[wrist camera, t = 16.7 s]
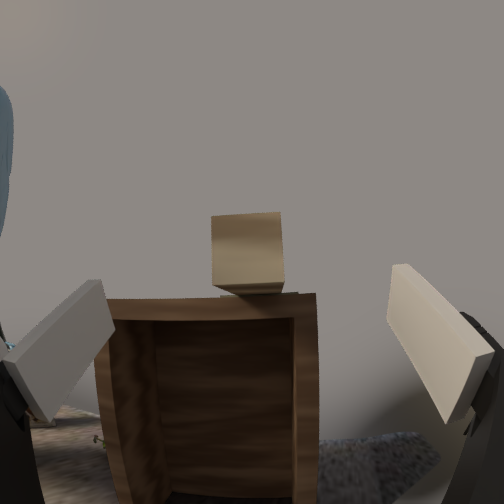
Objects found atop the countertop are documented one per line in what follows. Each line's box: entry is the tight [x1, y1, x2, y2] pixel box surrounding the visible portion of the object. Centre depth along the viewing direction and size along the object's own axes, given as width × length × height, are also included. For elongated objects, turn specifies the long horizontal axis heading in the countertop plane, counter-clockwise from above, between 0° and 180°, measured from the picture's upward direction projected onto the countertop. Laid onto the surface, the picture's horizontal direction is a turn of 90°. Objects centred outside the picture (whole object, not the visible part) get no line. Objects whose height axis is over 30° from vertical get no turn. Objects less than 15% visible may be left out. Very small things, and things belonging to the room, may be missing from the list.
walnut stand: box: [94, 292, 319, 504], centre depth 31 cm, size 14×22×30 cm, turn 86°
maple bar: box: [211, 212, 285, 295], centre depth 29 cm, size 24×4×4 cm, turn 176°
